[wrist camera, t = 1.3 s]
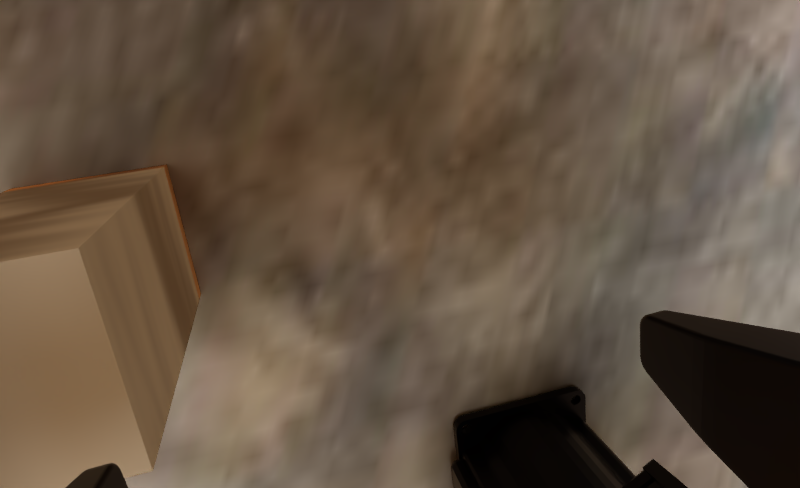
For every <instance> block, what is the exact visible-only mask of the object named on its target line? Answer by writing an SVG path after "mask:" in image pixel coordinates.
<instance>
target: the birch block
mask: <svg viewBox="0 0 800 488" xmlns="http://www.w3.org/2000/svg"><path fill="white" fill-rule="evenodd" d="M200 296H201V292H200V289H199V285H198V281H197V277H196V273H195V270H194V266H193V262H192V258H191V254H190V251H189V247H188V243H187V239H186V235H185V232H184V228H183V224H182V220H181V217H180V213H179V209H178V205H177V201H176V198H175V194H174V190H173V186H172V182H171V179H170V175H169V171H168V167H167V165H160V166H154V167H147V168H141V169H135V170H128V171H122V172H115V173H109V174H102V175H96V176H90V177H83V178H77V179H70V180H64V181H57V182H51V183H45V184H38V185H32V186H25V187H19V188H12V189H9V190H7V191H4V192H2V193H0V488H65V487H67V486H68V485H69V484H70V483H71V482H72V481H73V480H74V479H75V478H77V477H78V476H79V475H80V474H81V473H82V472H83V471H85V470H87V469H90V468H94V467H97V466H101V465H105V464H108V463H114V464H117V465H118V467H119V468H120V469H121V472H122V474H123V477H124V478H127V477H131V476H135V475H139V474H143V473H147V472H151V471H153V469H154V465H155V461H156V458H157V454H158V450H159V447H160V443H161V439H162V436H163V432H164V428H165V424H166V421H167V417H168V413H169V410H170V406H171V402H172V399H173V395H174V391H175V388H176V384H177V380H178V377H179V373H180V369H181V366H182V362H183V358H184V355H185V351H186V347H187V343H188V340H189V336H190V332H191V329H192V325H193V321H194V318H195V314H196V310H197V307H198V303H199V299H200Z"/></svg>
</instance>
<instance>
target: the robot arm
mask: <svg viewBox="0 0 800 488" xmlns="http://www.w3.org/2000/svg"><path fill="white" fill-rule="evenodd" d="M640 357H641V362H642V365H643V367H644V369H645V370H646V372H647V373H648V374H649V376H650V377H651V378H652V379H653V381H654V382H655V383H656V384H657V385H658V387H659V388H660V389H661V390H662V392H663V393H664V394H665V395H666V397H667V398H668V399H669V400H670V402H671V403H672V404H673V405H674V406H675V408H676V409H677V410H678V411H679V413H680V414H681V415H682V416H683V418H684V419H685V420H686V421H687V423H688V424H689V425H690V426H691V427H692V429H693V430H694V431H695V432H696V433H697V434H698V436H699V437H700V438H701V439H702V440H703V441H704V442H705V443H706V444H707V445H708V447H709V448H710V449H711V450H712V451H713V452H714V453H715V454H716V455H717V456H718V457H719V458H720V459H721V460H722V461H723V462H724V463H725V464H726V465H727V466H728V467H729V468H730V469H731V470H732V471H733V472H734V473H735V474H736V475H737V476H738V477H739V478H740V479H741V480H742V481H743V482H744V483H745V484H746V485H747V487H748V488H800V333H795V332H790V331H784V330H778V329H772V328H766V327H760V326H754V325H749V324H743V323H737V322H731V321H725V320H719V319H714V318H708V317H702V316H696V315H690V314H684V313H678V312H673V311H666V310H665V311H659V312H655V313H652V314H648V315H645V316H644V317H643V318H642V319H641V322H640ZM574 396H576V397H575V398H574V399H573V400H571V399H572V398H573V397H574ZM465 425H469V426H468V427H467V428H465V429H462V428H463V426H465ZM454 437H455V446H456V455H457V460H456V461H454V462H453V464H452V466H451V469H452V478H453V487H454V488H688V487H686V486H685V485H684V484H683V483H682V482H680V481H679V480H678V479H677V478H676V477H674V476H673V475H672V474H671V473H670V472H668V471H667V470H666V469H665V468H664V467H662V466H661V465H660V464H659V463H658V462H656V461H655V460H654V459H653V460H651V461H650V462H649V463H648V464H646V465H645V466H644V467H643V469H644V470H643V471H642V472H641V473H639V474H638V475H637V476H635V475H634V474H633V473H632V472H631V471H630V470H629V469H628V468H627V467H626V465H625V464H624V463H623V462H622V461H621V460H620V459H619V458H618V457H617V456H616V455H615V454H614V453H613V452H612V451H611V449H610V448H609V447H608V446H607V445H606V444H605V443H604V442H603V441H602V440H601V439H600V438H599V437H598V436H597V434H596V433H595V432H594V431H593V430H592V429H591V428H590V427H589V426H588V425H587V424H586V413H585V394H584V393H583V392H582V391H581V390H580V389H579V388H578V387H575V386H573V387H568V388H564V389H560V390H556V391H553V392H549V393H545V394H541V395H538V396H534V397H530V398H526V399H523V400H519V401H515V402H511V403H507V404H504V405H500V406H496V407H492V408H489V409H485V410H481V411H477V412H473V413H470V414H466V415H462V416H460V417H458V418H457V419H456V420H455V422H454ZM65 488H128V486H127V484H126V481H125V479H124V477H123V474H122V472H121V469H120V468H119V467H118V465H117V464H114V463H108V464H105V465H101V466H97V467H94V468H90V469H87V470H85V471H83V472H82V473H81V474H80V475H79V476H78V477H77V478H75V479H74V480H73V481H72V482H71V483H70V484H69V485H68V486H67V487H65Z"/></svg>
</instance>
